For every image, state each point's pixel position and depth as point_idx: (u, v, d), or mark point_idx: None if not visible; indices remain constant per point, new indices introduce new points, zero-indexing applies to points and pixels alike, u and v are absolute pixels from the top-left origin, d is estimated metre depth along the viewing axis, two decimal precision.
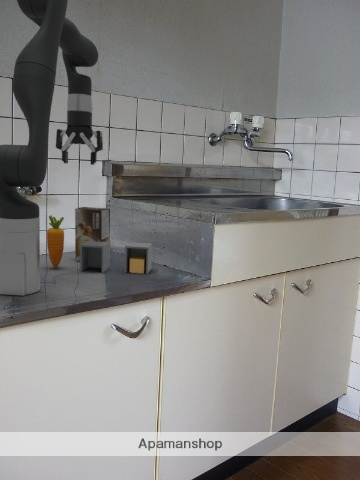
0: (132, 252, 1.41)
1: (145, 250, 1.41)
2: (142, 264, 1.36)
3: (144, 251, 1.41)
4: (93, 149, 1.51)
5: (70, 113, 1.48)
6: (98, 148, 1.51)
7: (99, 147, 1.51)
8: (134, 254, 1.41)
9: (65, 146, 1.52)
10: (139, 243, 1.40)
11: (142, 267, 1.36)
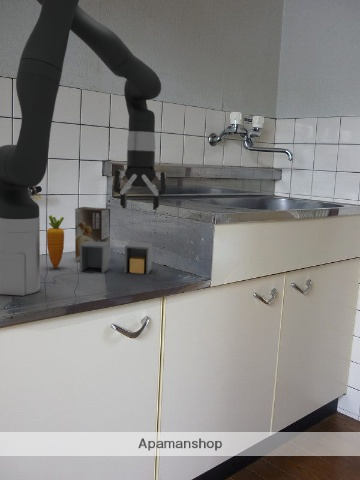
0: (132, 252, 1.41)
1: (145, 250, 1.41)
2: (142, 264, 1.36)
3: (144, 251, 1.41)
4: (156, 193, 1.34)
5: (132, 153, 1.31)
6: (162, 192, 1.34)
7: (163, 191, 1.34)
8: (134, 254, 1.41)
9: (124, 189, 1.35)
10: (139, 243, 1.40)
11: (142, 267, 1.36)
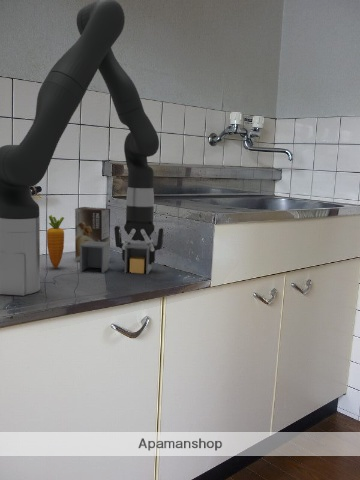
0: (132, 252, 1.41)
1: (145, 250, 1.41)
2: (142, 264, 1.36)
3: (144, 251, 1.41)
4: (152, 248, 1.36)
5: (131, 209, 1.33)
6: (158, 247, 1.36)
7: (159, 246, 1.36)
8: (134, 254, 1.41)
9: (126, 244, 1.37)
10: (139, 243, 1.40)
11: (142, 267, 1.36)
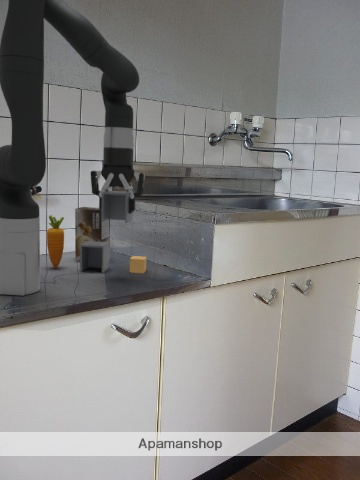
0: (110, 201, 1.29)
1: (125, 199, 1.29)
2: (142, 264, 1.36)
3: (124, 200, 1.29)
4: (132, 195, 1.24)
5: (108, 150, 1.21)
6: (138, 194, 1.24)
7: (139, 193, 1.24)
8: (113, 204, 1.29)
9: (103, 191, 1.25)
10: (118, 191, 1.28)
11: (142, 267, 1.36)
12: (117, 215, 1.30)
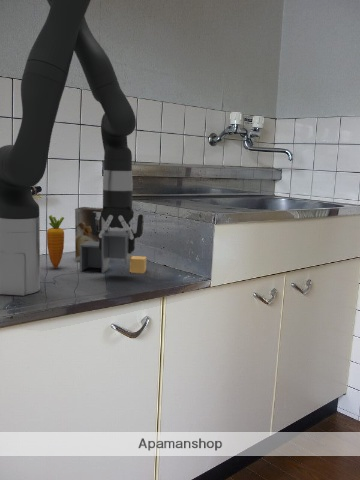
0: (110, 241, 1.31)
1: (124, 238, 1.31)
2: (142, 264, 1.36)
3: (123, 239, 1.31)
4: (131, 236, 1.26)
5: (107, 193, 1.23)
6: (137, 235, 1.26)
7: (139, 234, 1.26)
8: (112, 243, 1.31)
9: (103, 232, 1.27)
10: (117, 231, 1.30)
11: (142, 267, 1.36)
12: (117, 254, 1.32)
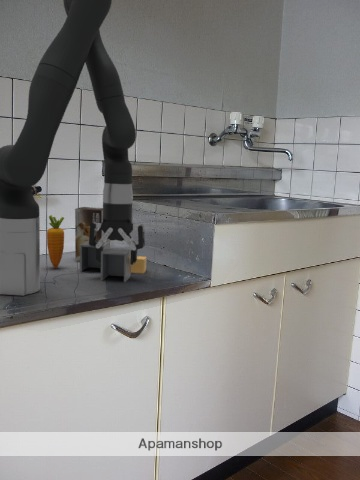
0: (110, 258, 1.32)
1: (123, 256, 1.31)
2: (142, 264, 1.36)
3: (122, 257, 1.31)
4: (134, 247, 1.27)
5: (107, 206, 1.24)
6: (140, 246, 1.26)
7: (141, 245, 1.26)
8: (112, 260, 1.32)
9: (100, 243, 1.27)
10: (117, 248, 1.30)
11: (142, 267, 1.36)
12: (116, 271, 1.32)
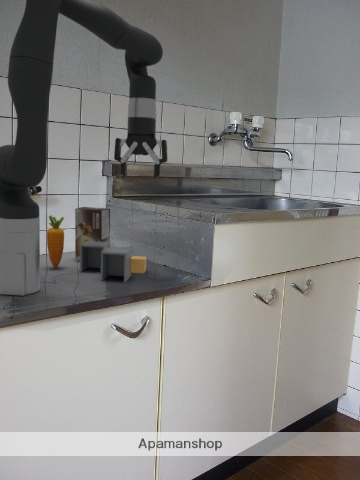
0: (110, 258, 1.32)
1: (123, 256, 1.31)
2: (142, 264, 1.36)
3: (122, 257, 1.31)
4: (157, 161, 1.32)
5: (132, 120, 1.29)
6: (163, 160, 1.32)
7: (164, 159, 1.32)
8: (112, 260, 1.32)
9: (125, 157, 1.33)
10: (117, 248, 1.30)
11: (142, 267, 1.36)
12: (116, 271, 1.32)
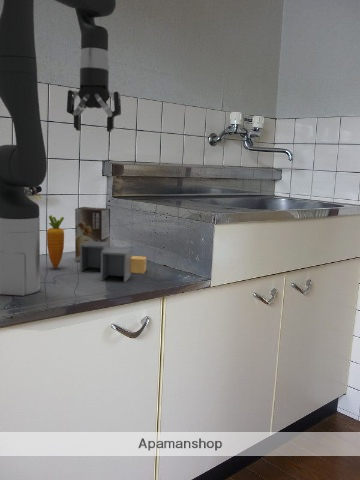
0: (110, 258, 1.32)
1: (123, 256, 1.31)
2: (142, 264, 1.36)
3: (122, 257, 1.31)
4: (110, 113, 1.31)
5: (84, 71, 1.28)
6: (116, 112, 1.30)
7: (117, 111, 1.30)
8: (112, 260, 1.32)
9: (77, 110, 1.31)
10: (117, 248, 1.30)
11: (142, 267, 1.36)
12: (116, 271, 1.32)
